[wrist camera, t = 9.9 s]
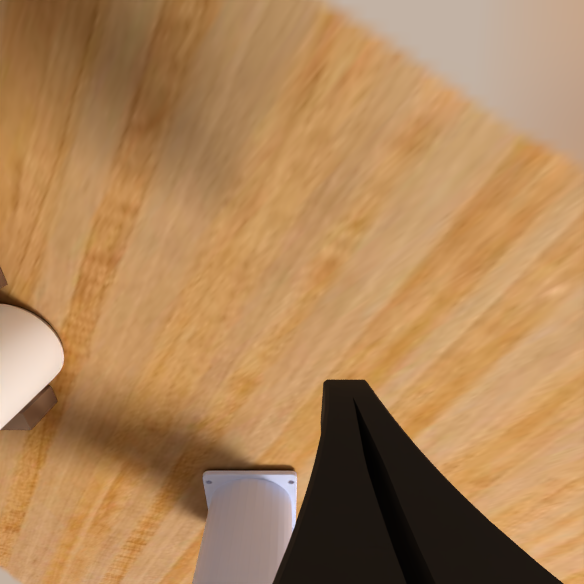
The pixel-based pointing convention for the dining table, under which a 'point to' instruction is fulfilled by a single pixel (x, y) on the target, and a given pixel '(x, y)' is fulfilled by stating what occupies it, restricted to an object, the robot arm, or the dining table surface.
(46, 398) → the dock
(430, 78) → the dining table surface
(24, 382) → the can
